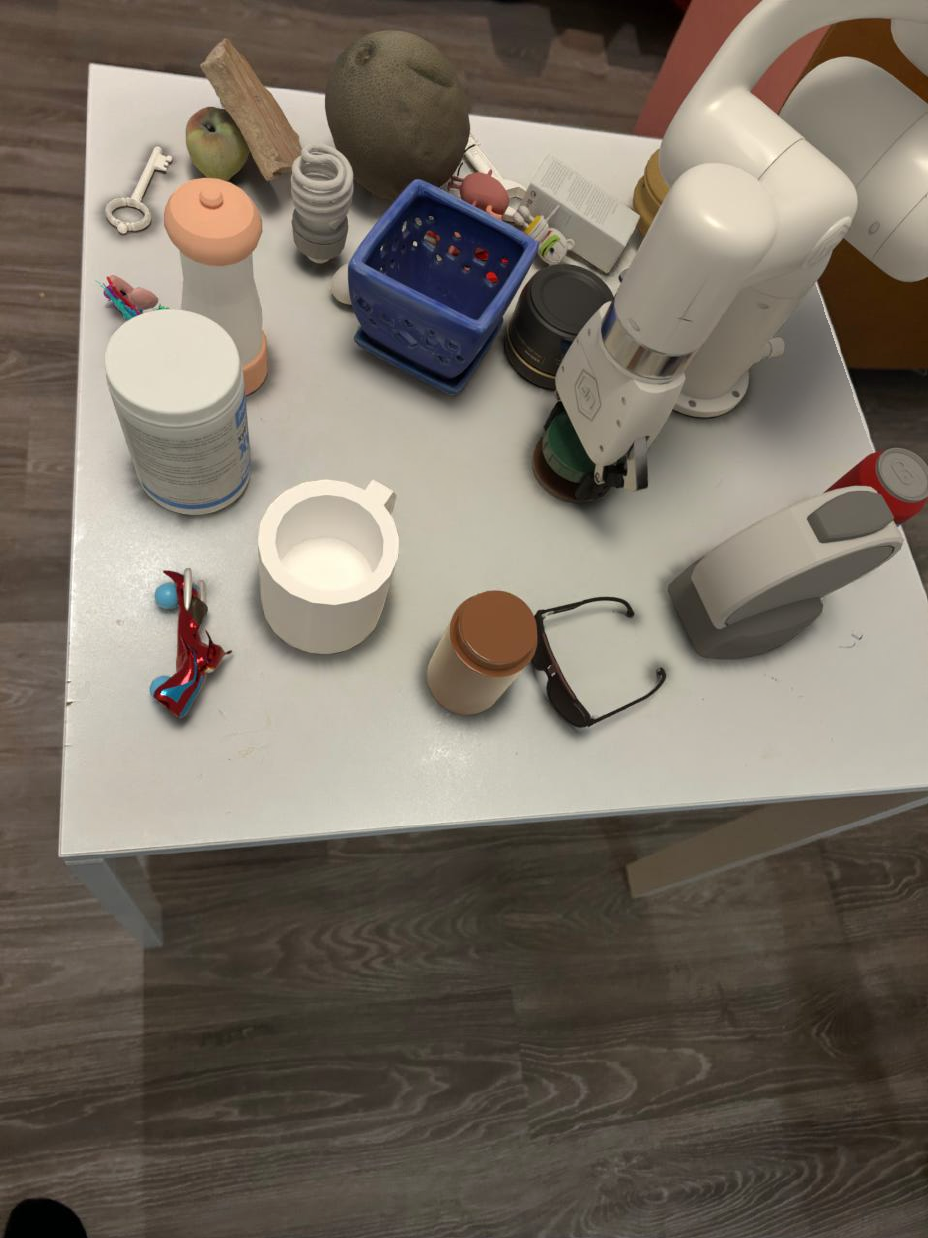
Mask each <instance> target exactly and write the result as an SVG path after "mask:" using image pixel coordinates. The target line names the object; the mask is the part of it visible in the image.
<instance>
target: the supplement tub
mask: <svg viewBox="0 0 928 1238" xmlns="http://www.w3.org/2000/svg"><path fill="white" fill-rule="evenodd" d="M142 313H143V312H142ZM127 320H128V319H127ZM127 320H126V321H125V322H123V323H122V324H121V325H120V326H119V327H118V328H117V329H116V330H115V331H114V332H113V333H112V335H111V336H110V338H109V340H108V342H107V344H106V346H105V350H104V355H103V365H104V371H105V379H106V384H107V386H108V391H109V394H110V397H111V400H112V404H113V407H114V410H115V413H116V416H117V419H118V422H119V425H120V427H121V431H122V433H123V437H124V441H125V443H126V447H127V449H128V452H129V455H130V458H131V461H132V464H133V467H134V470H135V473H136V477H137V479H138V482H139V484H140V486H141V488H142V490H143V491H144V492H145V493H146V494H147V496H148V497H149V498H151V500H153V501H154V502H155V503H157V504H158V505H159V506H161V507H163V508H164V509H166V510H168V511H169V510H170V511H172V512H175V513H178V514H183V515H191V516H199V515H206V514H211V513H215V512H218V511H221V510H223V509H225V508H227V507H228V506H229V505H231V504H232V503H234V502H235V501H236V500H238V498H240V496H241V495H242V494H243V492H244V491H245V489H246V488H247V486H248V484H249V481H250V478H251V474H252V458H251V444H250V432H249V431H250V430H249V419H248V409H247V397H246V396H247V395H245V385H244V376H243V368H242V364H241V361H240V358H239V353H238V350H237V347H236V345H235V343H234V341H233V339H232V338H231V337H230V335H229V334H228V333H227V332H226V331H225V330H224V329H223V328H222V327H221V326H220V325H218V324H217V323H216V322H214V321H212V320H211V319H209V318H207V317H205V316H202V315H200V314H197V313H193V312H190V311H185V310H181V309H175V308H169V309H162V310H157V309H156V310H155V311H153V310H151V311H147V312H144V313H143V314H140V315H138V316H135V317H134V316H133V318H132V319H129V320H128V321H127Z"/></svg>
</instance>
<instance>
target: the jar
mask: <svg viewBox="0 0 928 1238" xmlns="http://www.w3.org/2000/svg"><path fill="white" fill-rule="evenodd" d="M614 296H615V295H614V293H613V292H612V290H611V288H610V287H609V286H608V284H607V283H606V282H605V281H604V280H603V279H602V278H601V277H600V276H598V274H596V273H594V272H593V271H591V270H589V269H587V268H585V267H583V266H579V265H576V264H570V263H559V264H555V265H551V266H549V265H548V266H545V267H543V268H540V269H539V270H537V271H536V272H535V273H534V274H533V275H532V276H531V277H530V278H529V279H528V281H527V282H526V283H525V285H524V286H523V287H522V289H521V291H520V295H519V296H518V300H517V302H516V304H515V308H514V310H513V312H512V313H511V315H510V316H509V320H508V323H507V328H506V332H505V335H504V337H505V338H504V347H505V353H506V356H507V358H508V360H509V362H510V363H511V365H512V366H513V368H514V369H515V371H516V372H517V373H518V374H520V376H522V378H524V379H526V381H529V382H531V383H533V384H534V385H537V386H539V387H542V388H545V389H550V390H556V389H557V388H556V383H555V378H556V374H557V371H558V369H559V366H560V364H561V362H562V361H561V340H562V339H566V338H572V337H577V335H578V334H579V332H580V331H581V330H582V328H583V327H584V326H585V324H586V323H587V322H588V321H589V319H590V318H591V317H592V316H593V315H594V314H595V313H596V312H597V311H598V310H599V309H600V308H601V307H602V306H603V305H604V304H605V303H607V302H610V301H612V300H613V298H614Z"/></svg>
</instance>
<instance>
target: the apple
mask: <svg viewBox="0 0 928 1238" xmlns="http://www.w3.org/2000/svg"><path fill="white" fill-rule="evenodd" d="M185 144H186V150H187V152H188V154H189V156H190V159H191V161H192V163H193V165H194V167H195V168H196V169H197V170H198V171H199V172H201V174H203V175H204V176H205V178H215V179H220V180H224V181H227V182H229V181H230V179H231V178H233V177H234V176H236V174H237V173H239V172H240V171H241V170H242V168H243V167H244V166H245V164H246V162H247V160H248V158H249V155H250V149H249V146H248V144H247V142H246V140H245V139H244V136H243V135H242V133H241V131H240V129H239V127H238V126H237V124H236V123H235V121H234V120H233V118H232V117H231V115H230V114H229V113H228V112H227V111H226V110H225V109H224V108H220V107H219V108H218V107H215V106H205V107H203V108H200V109H199V110H197V111H196V112H195V113H194V114H192V115H191V116H190V117H189V119H188V121H187V122H186V126H185Z"/></svg>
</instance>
